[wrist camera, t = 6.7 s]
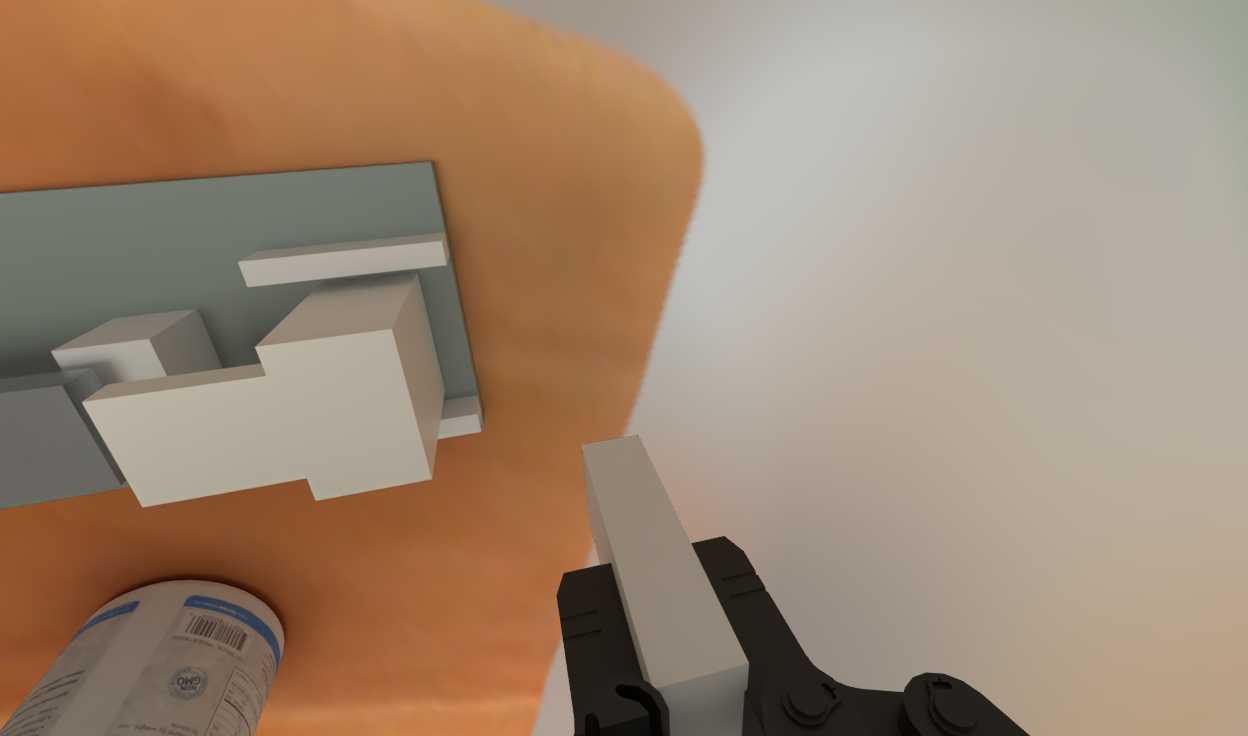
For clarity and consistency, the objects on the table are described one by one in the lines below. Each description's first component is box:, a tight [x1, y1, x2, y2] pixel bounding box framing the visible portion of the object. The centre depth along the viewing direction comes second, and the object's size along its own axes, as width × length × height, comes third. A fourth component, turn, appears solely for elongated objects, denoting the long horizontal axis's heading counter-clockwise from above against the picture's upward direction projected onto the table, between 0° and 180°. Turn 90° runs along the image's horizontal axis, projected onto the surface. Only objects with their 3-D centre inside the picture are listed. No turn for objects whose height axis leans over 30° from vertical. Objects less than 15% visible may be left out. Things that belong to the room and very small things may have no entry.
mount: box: [0, 161, 484, 509], centre depth 19 cm, size 31×13×8 cm, turn 94°
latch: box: [82, 272, 445, 507], centre depth 21 cm, size 9×6×8 cm, turn 94°
